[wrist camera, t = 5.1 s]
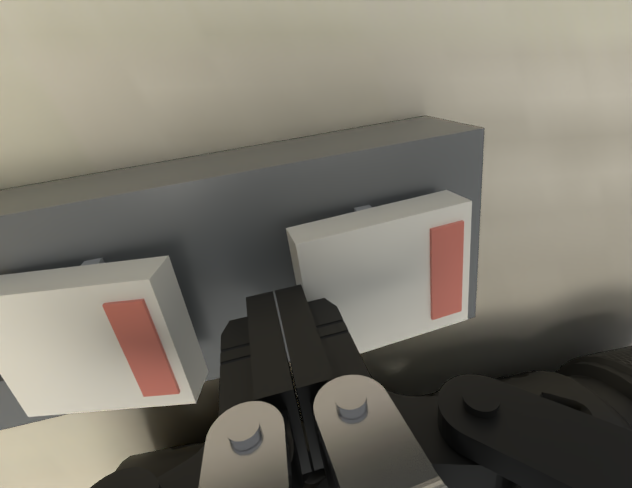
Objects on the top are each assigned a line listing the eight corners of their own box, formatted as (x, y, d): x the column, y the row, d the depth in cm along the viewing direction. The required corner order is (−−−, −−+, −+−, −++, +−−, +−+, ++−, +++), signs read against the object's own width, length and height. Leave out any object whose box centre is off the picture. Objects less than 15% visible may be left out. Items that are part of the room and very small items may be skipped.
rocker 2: (446, 189, 11) (474, 201, 10) (445, 300, 13) (469, 321, 12) (285, 227, 10) (296, 246, 9) (307, 342, 12) (318, 369, 11)
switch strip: (425, 115, 15) (492, 129, 11) (428, 269, 18) (481, 323, 14) (-66, 201, 13) (-198, 255, 9) (27, 357, 16) (-42, 449, 12)
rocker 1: (168, 255, 10) (147, 281, 9) (208, 371, 12) (195, 406, 10) (-9, 276, 10) (-52, 303, 9) (55, 385, 12) (25, 420, 11)
